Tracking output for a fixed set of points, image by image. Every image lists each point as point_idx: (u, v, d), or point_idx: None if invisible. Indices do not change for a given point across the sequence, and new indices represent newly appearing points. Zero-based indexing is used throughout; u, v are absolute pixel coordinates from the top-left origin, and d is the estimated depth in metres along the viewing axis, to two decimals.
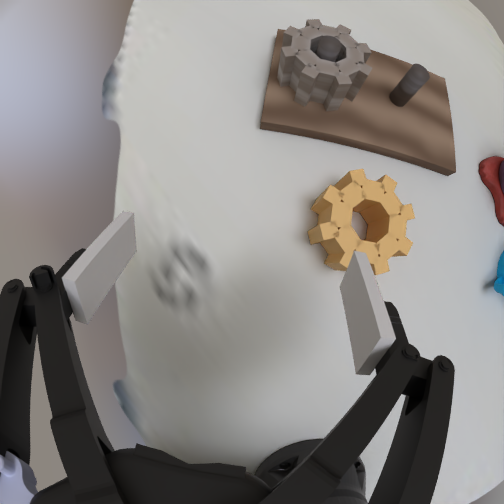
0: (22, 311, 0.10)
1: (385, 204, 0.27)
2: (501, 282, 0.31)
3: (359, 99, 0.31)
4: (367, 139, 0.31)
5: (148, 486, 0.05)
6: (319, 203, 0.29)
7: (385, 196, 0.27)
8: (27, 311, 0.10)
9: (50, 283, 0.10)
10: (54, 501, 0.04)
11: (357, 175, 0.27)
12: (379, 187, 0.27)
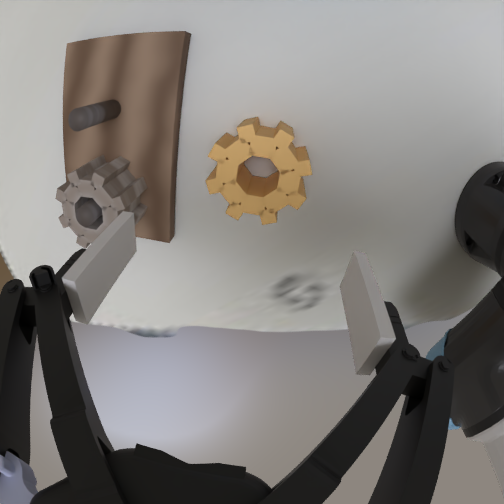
0: (23, 311, 0.10)
1: (240, 160, 0.27)
2: None
3: (125, 153, 0.31)
4: (168, 148, 0.31)
5: (148, 486, 0.05)
6: None
7: (231, 158, 0.27)
8: (27, 311, 0.10)
9: (50, 283, 0.10)
10: (54, 501, 0.04)
11: (213, 187, 0.29)
12: (222, 164, 0.27)
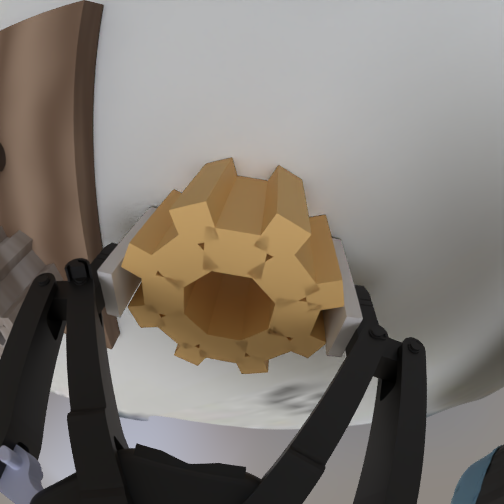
0: (54, 305, 0.11)
1: (186, 278, 0.12)
2: None
3: (24, 226, 0.17)
4: (75, 222, 0.16)
5: (148, 486, 0.05)
6: None
7: (168, 274, 0.12)
8: (59, 304, 0.11)
9: (85, 277, 0.11)
10: (54, 501, 0.04)
11: (143, 318, 0.14)
12: (152, 284, 0.13)
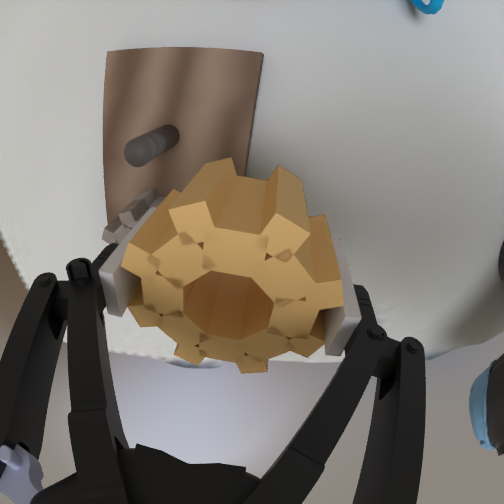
0: (55, 305, 0.11)
1: (185, 277, 0.12)
2: None
3: (183, 187, 0.30)
4: None
5: (148, 486, 0.05)
6: None
7: (167, 273, 0.12)
8: (61, 305, 0.11)
9: (87, 276, 0.11)
10: (54, 501, 0.04)
11: (143, 317, 0.14)
12: (152, 283, 0.13)
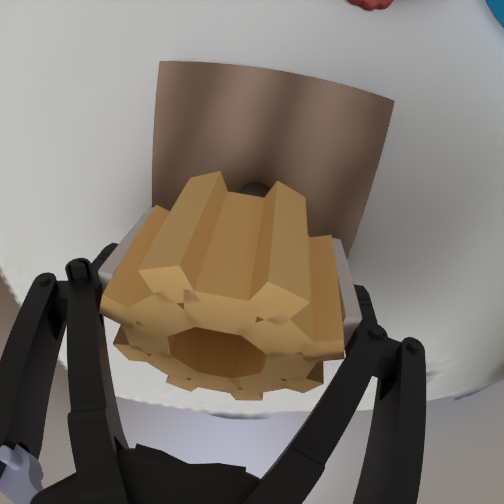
0: (55, 305, 0.11)
1: (168, 329, 0.11)
2: None
3: None
4: None
5: (148, 486, 0.05)
6: None
7: (148, 324, 0.11)
8: (60, 305, 0.11)
9: (86, 276, 0.11)
10: (54, 501, 0.04)
11: (130, 354, 0.13)
12: (134, 330, 0.11)
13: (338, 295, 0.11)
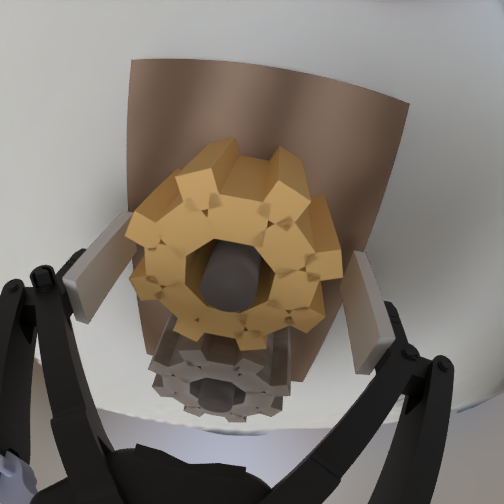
0: (23, 311, 0.10)
1: (188, 246, 0.13)
2: None
3: None
4: None
5: (148, 486, 0.05)
6: None
7: (171, 242, 0.13)
8: (28, 311, 0.10)
9: (51, 283, 0.10)
10: (54, 501, 0.04)
11: (144, 290, 0.14)
12: (155, 253, 0.13)
13: (333, 226, 0.14)
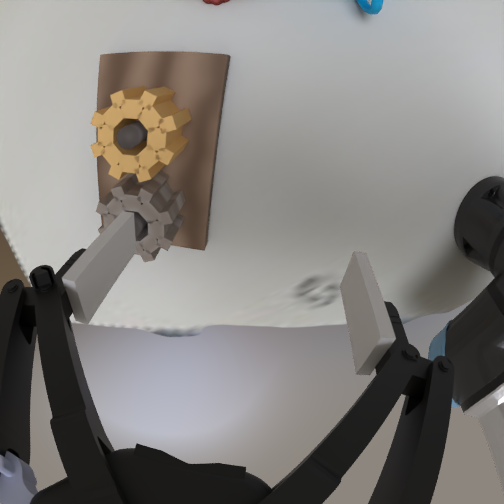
0: (22, 311, 0.10)
1: (114, 123, 0.26)
2: None
3: (164, 167, 0.35)
4: (208, 164, 0.34)
5: (148, 486, 0.05)
6: None
7: (108, 123, 0.26)
8: (27, 311, 0.10)
9: (50, 283, 0.10)
10: (54, 501, 0.04)
11: (96, 150, 0.28)
12: (101, 129, 0.26)
13: (178, 112, 0.27)
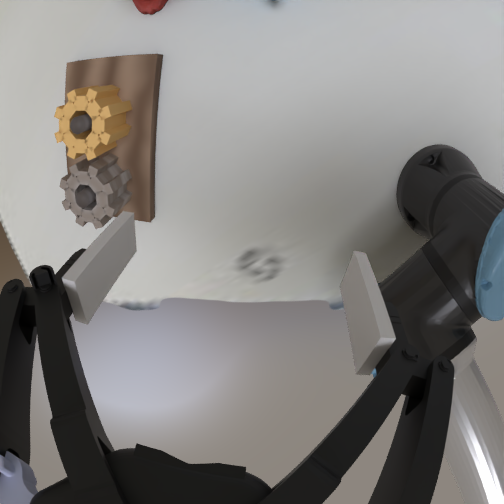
0: (23, 311, 0.10)
1: (70, 115, 0.30)
2: None
3: (114, 150, 0.39)
4: (147, 145, 0.38)
5: (148, 486, 0.05)
6: (83, 153, 0.36)
7: (65, 115, 0.30)
8: (27, 311, 0.10)
9: (50, 283, 0.10)
10: (54, 501, 0.04)
11: (58, 137, 0.32)
12: (61, 120, 0.31)
13: (115, 103, 0.32)
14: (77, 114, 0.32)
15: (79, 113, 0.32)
